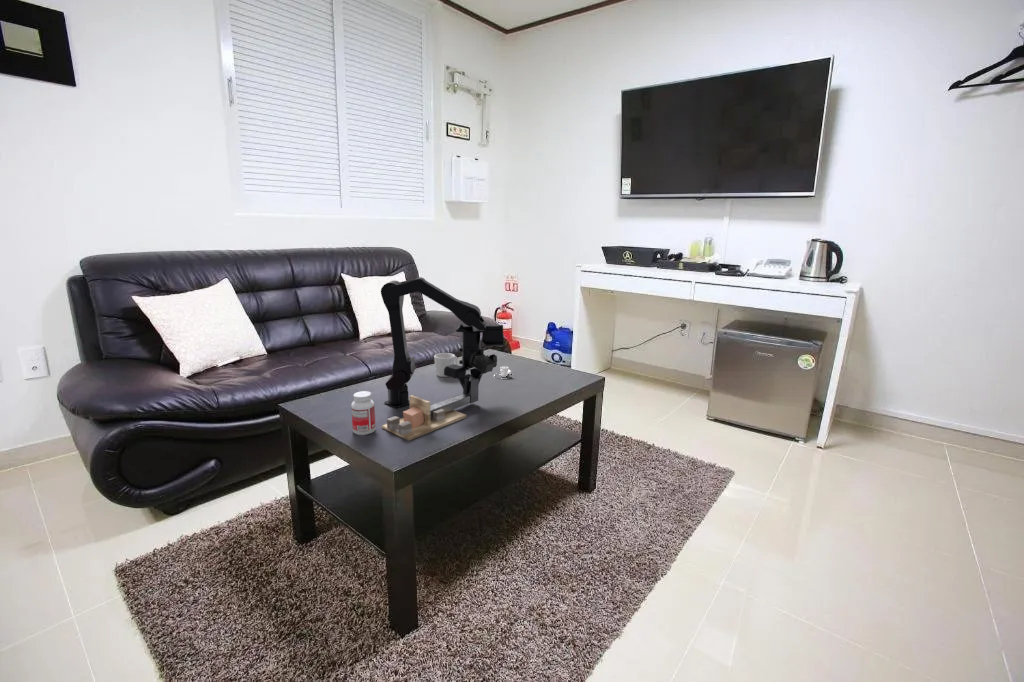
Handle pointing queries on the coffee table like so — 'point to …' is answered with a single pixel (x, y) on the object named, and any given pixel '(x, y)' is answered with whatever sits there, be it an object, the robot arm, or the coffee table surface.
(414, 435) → the rail
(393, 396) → the robot arm
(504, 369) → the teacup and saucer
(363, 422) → the pill bottle
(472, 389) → the grey metal bar
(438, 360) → the cup
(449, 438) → the coffee table surface
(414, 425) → the block
